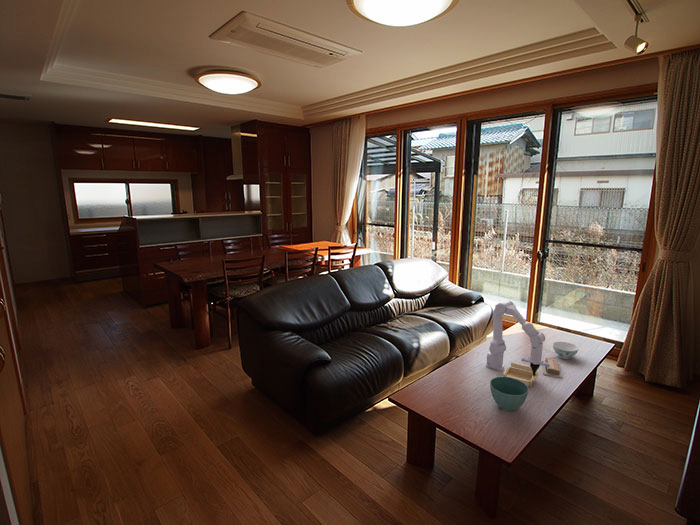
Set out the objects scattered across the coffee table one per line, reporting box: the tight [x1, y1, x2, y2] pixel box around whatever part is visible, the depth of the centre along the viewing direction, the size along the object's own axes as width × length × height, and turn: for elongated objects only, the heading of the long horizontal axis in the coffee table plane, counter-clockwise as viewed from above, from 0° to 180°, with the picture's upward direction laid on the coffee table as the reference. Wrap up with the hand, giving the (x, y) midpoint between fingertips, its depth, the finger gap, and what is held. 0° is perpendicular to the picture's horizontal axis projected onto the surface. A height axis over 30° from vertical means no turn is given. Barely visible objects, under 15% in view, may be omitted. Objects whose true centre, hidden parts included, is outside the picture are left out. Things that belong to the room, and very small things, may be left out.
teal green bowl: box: [489, 376, 530, 413], centre depth 189 cm, size 18×18×12 cm
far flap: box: [533, 368, 541, 382], centre depth 211 cm, size 1×10×4 cm, turn 147°
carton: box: [502, 366, 534, 388], centre depth 217 cm, size 16×13×3 cm
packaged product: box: [541, 357, 563, 379], centre depth 227 cm, size 18×5×10 cm
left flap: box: [510, 361, 532, 372], centre depth 221 cm, size 12×1×4 cm, turn 56°
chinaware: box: [552, 341, 579, 360], centre depth 244 cm, size 15×15×8 cm
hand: (534, 375), depth 212 cm, fingers closed
